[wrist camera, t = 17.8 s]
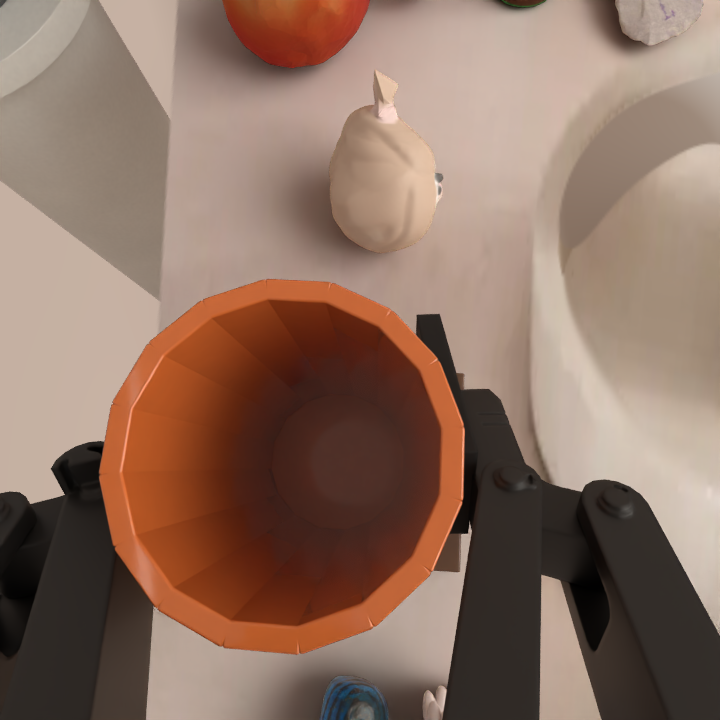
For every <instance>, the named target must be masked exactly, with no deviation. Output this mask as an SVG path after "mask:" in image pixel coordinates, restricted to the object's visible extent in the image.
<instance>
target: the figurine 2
mask: <svg viewBox="0 0 720 720" xmlns="http://www.w3.org/2000/svg"><path fill="white" fill-rule="evenodd" d="M446 692H447V690H446V688H445V687H444V686H439V687H438V689H437V692H436V699H435V698H434V696H433V694H432V693H431V692H430V691H429V690H426V691H425V693H424V696H423V717H424V720H442V717H443V711H444V704H445V698H446Z"/></svg>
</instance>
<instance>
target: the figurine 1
mask: <svg viewBox="0 0 720 720" xmlns="http://www.w3.org/2000/svg"><path fill="white" fill-rule="evenodd" d="M319 720H388V707H387V703H386V700H385V698H384V696H383V694H382V693H381V691H380V690H379V689H378V688H377V687H376V686H375V685H373V684H372V683H371V682H369V681H367V680H365V679H363V678H359V677H354V676H353V677H352V676H338V677H335V678H334V679H333V680H332V681H331V682H330V683H329V685H328V687H327V690H326V692H325V696H324V700H323V704H322V710H321V715H320V719H319Z"/></svg>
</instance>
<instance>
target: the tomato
mask: <svg viewBox="0 0 720 720" xmlns="http://www.w3.org/2000/svg"><path fill="white" fill-rule="evenodd" d="M222 1H223V5H224V8H225V12H226V15H227V19H228V21H229V23H230V25H231V26H232V28H233V30H234V32H235V34H236V35H237V36H238V38H239V39H240V41H241V42H242V43H243V44H244V46H245V47H246V48H248V49H250V50H251V51H252V52H253V53H255V54H256V55H257V56H259V57H260V58H261V59H263V60H264V61H265V62H267V63H269V64H272V65H276V66H283V67H289V68H295V67H302V66H307V65H317V64H320V63H323V62H325V61H326V60H328V59H329V58H330V57H332V56H333V55H335V54H336V53H337V52H338V51H340V50H341V49H342V48H343V47H344V46H345V45H346V44H347V43H348V41H349V40H350V39H351V38H352V37H353V36H354V34H355V33H356V32H357V30H358V28H359V26H360V24H361V22H362V20H363V18H364V16H365V14H366V12H367V9H368V6H369V3H370V0H222Z"/></svg>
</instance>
